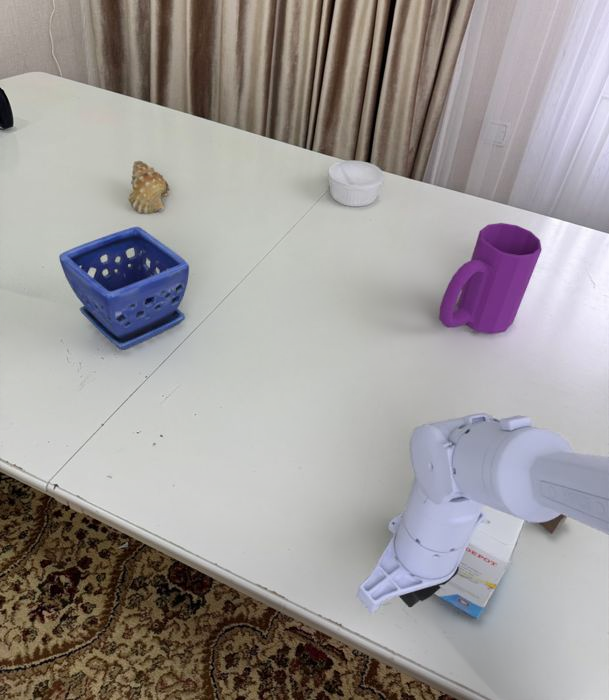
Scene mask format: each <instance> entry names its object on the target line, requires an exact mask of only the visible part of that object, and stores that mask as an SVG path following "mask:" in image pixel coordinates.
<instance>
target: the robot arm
mask: <svg viewBox="0 0 609 700" xmlns="http://www.w3.org/2000/svg"><path fill="white" fill-rule="evenodd" d="M409 457H410V463H411V468H412V472H413V474H414V479H413V482H412V484H411V485H412V486H411V488H410V491H409V494H408V497H407V500H406V504H405V507H404V510H403V513H399V514H397V515H396V516H395V517H393V518H392V519H391V520H389V522H388V528H387V529H388V530H389V532H391V533H392V537H391V539H390V541H389V543H388V544H387V545H386V548H385V549H384V551H383V553H382V555H381V556H380V558H379V559H378V562H377V563H376V565H375V566H374V568H373V569H372V571H371V573H370V574H369V576H368V577H367V578H366V579H365V580H364V581H362V583H361V584H360V585H358V589H357V593H356V598H357V599H358V600H359V601H360V603H361V604H362V605H363V606H364V608H366V609H367V611H368V612H369V613H370V614H371V615H372V614H374V613H376V611H378V610H379V609H380V607H381V605H382V603H384V602H385V601H387V600H390V599H392V598H396V597H398V598H400V599H401V600H402V601H403V603H404V604H405V605H406V606H407V607H408V608H412V607H414V606H415V605H416V604H418V603H419V602H424V601H425V600H427V599H429V598H430V597H432V596H433V595H435V594H434V593H435V592H436V591H438V590H439V589H440V588H441V587H440V586H439V585H445V584H446V583H447V582H448V581H450V580H451V579H452V578H453V577H454V576H455V575H456V574H457V572H458V570H459V566H458V565H459V563H460V561H461V559H462V556H463V554H464V552H465V550H466V548H467V546H468V544H469V542H470V539H471V537H472V535H473V533H474V531H475V529H476V528H477V526H478V525H479V524H480V523H481V522H483V521H484V519H485V517H486V515H485V514H484V513H483V512H482V509H483V507H484V505H485V506H488V507H490V508H493V509H496V510H498V511H501V512H503V513H506V514H509V515H512V516H514V517H517V518H520V519H522V520H525V521H526V522H528V523H538V524H539V522H546V521H549V520H552V519H554V518H556V517H557V516H559V515H560V514H563V515H565V516H567V518H569V519H571V520H574V521H576V522H578V523H581V524H583V525H586V526H588V527H590V528H592V529H595V530H596V531H598V532H602V533H603V534H606V535H608V536H609V456H605V455H595V454H588V453H579V452H575V450H574V449H573V447H572V445H571V444H570V442H568V440H566V439H565V437H564V436H562V435H561V434H559V433H557V432H556V431H553V430H551V429H549V428H543V427H537V426H532V419H531V417H530V416H527V415H526V416H525V415H515V416H509V417H504V418H500V419H499V418H496V417H493V416H492V415H490V414H488V413H484V412H483V413H481V412H480V413H473V414H467V415H465V416H460V417H455V418H450V419H445V420H440V421H439V420H438V421H435V422H429V423H424V424H422V425H421V426H420V425H419V426H416V427H415V428H414V429H413V430H412V432H411V435H410V439H409Z"/></svg>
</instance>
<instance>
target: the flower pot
mask: <svg viewBox="0 0 609 700" xmlns="http://www.w3.org/2000/svg"><path fill="white" fill-rule="evenodd" d="M131 249H133V251H134V255H133V256H129V257H128V254H127V251H129V250H131ZM105 255H106V258H107V260H105V261H103V262H102V259H101V258H102V257H104V256H105ZM117 258H119V261H116V259H117ZM58 259H59V263H60V266H61V268H62V271H63V274H64V276H65V279H66V280H67V283H68V284H69V286H70V288H71V289H72V291H73V293H74V295H75V296H76V297H77V298H78V300H79V301H80V302H81V304H82V306H81V307H80V308H79V311H80V313H81V314H82V315H83V316H84V317H85V318H86V319H87V320H88V321H89V322H90V323H91V324H92V325H93V326H95V328H96V329H97V330H98V331H99V332H100V333H101V334H102V335H103V336H104V337H105V338H106V339H107V340H109V341H110V343H112V344H113V345H114V346H115V347H116V348H118V349H119V350H120V351H126V350H128V349H130V348H132V347H136V346H137V345H139V344H141V343H143V342H145V341H148V340H149V339H152V338H154V337H156V336H158V335H160V334H162V333H164V332H166V331H168V330H171V329H172V328H174V327H176V326H178V325H179V324H181V323H182V322H183V321H184V320H185V319H186V315H185V314H184V312H183V311H181V310H180V309H179V306H180V305H181V303H182V301H183V298H184V296H185V293H186V290H187V286H188V283H189V282H188V281H189V276H190V274H189V273H190V264H189V263H188V262H187V261H186V260H185V259H184V258H182V256H180V255H179V254H178V253H177V252H175V251H174V250H173V249H171V248H170V247H169V246H167V245H166V244H164V243H163V242H162V241H160V240H159V239H157V238H156V237H154V236H153V235H152V234H150V233H149V232H147V231H146V230H145V229H143V228H141V227H140V226H132V227H128V228H126V229H123V230H120V231H117V232H116V231H115V232H114V233H110V234H108V235H106V236H102V237H100V238H97V239H94V240H91V241H88V242H85V243H83V244H80V245H77V246H75V247H72V248H70V249H68V250H65V251H63V252H62V253H60V254H59V256H58ZM147 260H148V261H149V265H148V264H147ZM129 265H130V266H129ZM91 268H92V269H95V271H94V275H93V277H92V276H91V275H90V274H89V271H90V269H91ZM157 269H158V271H159V272H157ZM106 270H107V274H106V275H104V271H106ZM116 270H117V271H116Z"/></svg>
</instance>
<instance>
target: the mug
mask: <svg viewBox="0 0 609 700" xmlns="http://www.w3.org/2000/svg"><path fill="white" fill-rule="evenodd" d="M541 253H542V243H541V239H539V237H537V236H536V235H535V234H534V233H533V232H532V231H531V230H529V229H527V228H524V227H521V226H520V225H517V224H511V223H505V222H497V223H489V224H487V225H485V226H484V227H483V228H481V229H480V230H479V232H478V236H477V239H476V242H475V245H474V249H473V252H472V255H471V259H470V260H469V261H467V262H465V263H463V264H462V265H461V266H460V267H459V268H458V269H456V271H455V273H453V275H452V277H451V279H450V280H449V283H448V284H447V287H446V289H445V291H444V294H443V296H442V299H441V303H440V307H439V313H438V314H439V315H438V320H439V321H440V322H441V323H442V325H443V326H444V327H445V328H448V329H449V328H451V329H453V328H457V327H461V326H463V325H466V326H468V327H469V328H471V329H472V330H473V331H476V332H478V333H484V334H489V335H495V334H498V333H504V332H506V331H507V330H508V329H509V328H510V327H511V326H512V325H513V324H514V322H515V319H516V317H517V314H518V311H519V309H520V307H521V304H522V301H523V299H524V296H525V294H526V292H527V288H528V286H529V284H530V281H531V278H532V276H533V273H534V271H535V269H536V265H537V263H538V260H539V258H540V256H541ZM455 307H456V310H455Z"/></svg>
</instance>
